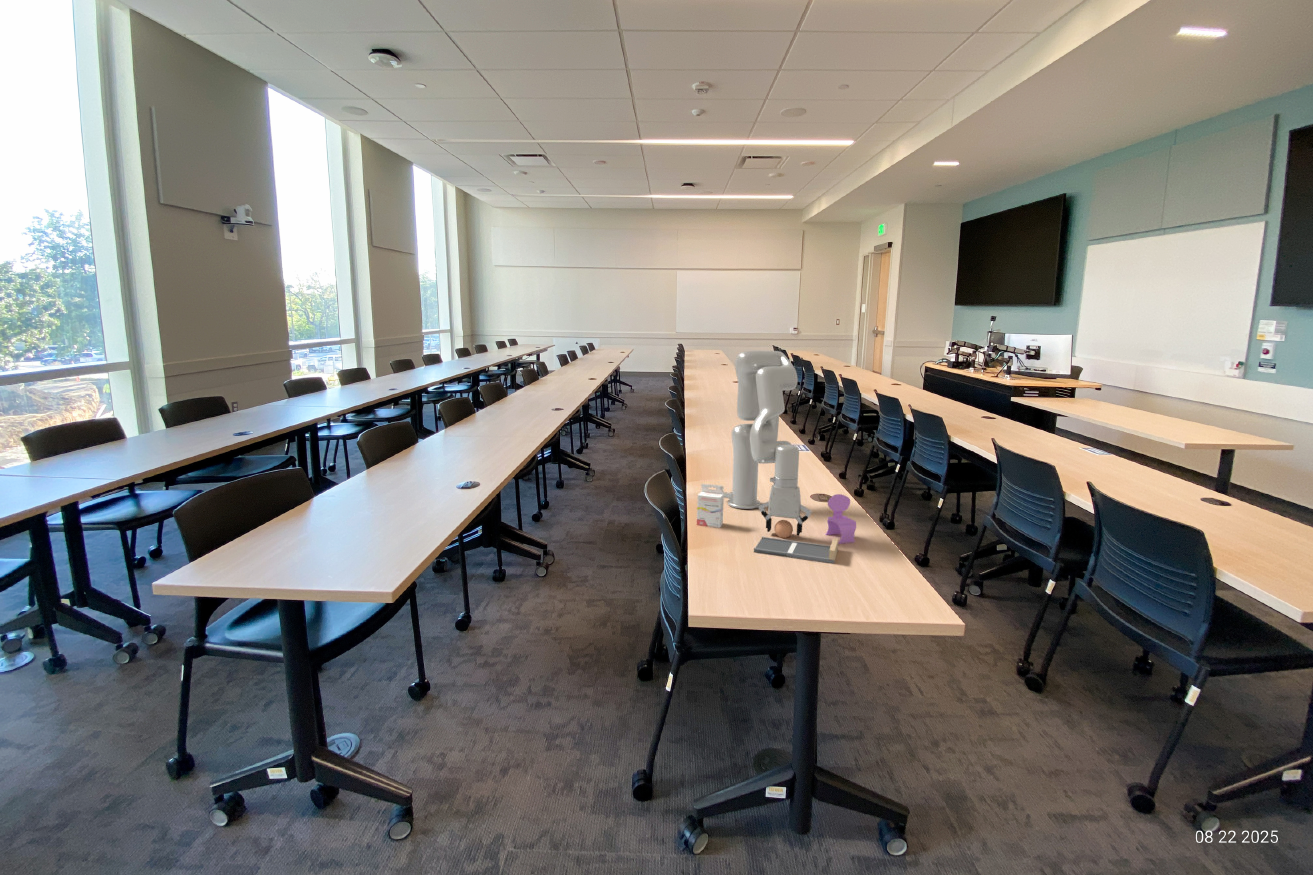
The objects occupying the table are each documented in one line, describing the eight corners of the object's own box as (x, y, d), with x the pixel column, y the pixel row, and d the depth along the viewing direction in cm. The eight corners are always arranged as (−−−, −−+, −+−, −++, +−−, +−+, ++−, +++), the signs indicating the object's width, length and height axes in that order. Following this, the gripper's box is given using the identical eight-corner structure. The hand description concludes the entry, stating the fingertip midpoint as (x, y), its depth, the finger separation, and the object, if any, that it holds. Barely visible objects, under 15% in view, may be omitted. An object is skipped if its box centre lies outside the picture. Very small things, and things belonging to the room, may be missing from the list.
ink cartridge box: (696, 527, 210) (696, 486, 207) (699, 523, 214) (700, 483, 212) (720, 529, 207) (721, 488, 204) (723, 525, 211) (724, 485, 209)
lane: (753, 552, 186) (754, 539, 185) (761, 540, 197) (762, 528, 196) (833, 563, 177) (834, 550, 176) (837, 550, 188) (838, 538, 187)
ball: (772, 539, 198) (773, 521, 197) (775, 533, 203) (776, 516, 202) (790, 541, 196) (791, 523, 195) (793, 535, 201) (794, 518, 200)
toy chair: (836, 545, 192) (838, 500, 190) (821, 537, 201) (824, 493, 198) (858, 543, 195) (861, 499, 192) (843, 535, 203) (846, 492, 200)
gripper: (757, 482, 196) (755, 532, 199) (811, 487, 190) (808, 539, 193) (762, 477, 203) (760, 526, 206) (814, 482, 197) (811, 532, 199)
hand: (783, 532), depth 199 cm, fingers open, 9 cm apart
